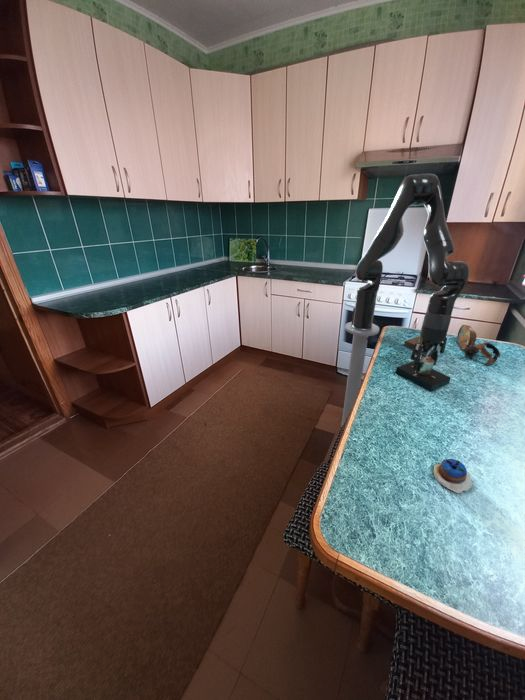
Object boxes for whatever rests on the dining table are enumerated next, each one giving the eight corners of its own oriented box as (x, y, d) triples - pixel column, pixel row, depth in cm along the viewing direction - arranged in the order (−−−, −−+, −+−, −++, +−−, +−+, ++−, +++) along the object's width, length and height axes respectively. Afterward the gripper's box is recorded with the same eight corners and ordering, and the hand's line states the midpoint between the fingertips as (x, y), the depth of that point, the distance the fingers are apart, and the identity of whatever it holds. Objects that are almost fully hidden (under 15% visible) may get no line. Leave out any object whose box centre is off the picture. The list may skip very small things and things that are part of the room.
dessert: (439, 455, 71) (460, 449, 66) (460, 479, 69) (483, 475, 65) (424, 474, 67) (445, 470, 62) (446, 501, 65) (469, 498, 60)
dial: (424, 377, 100) (428, 363, 97) (412, 370, 104) (415, 357, 101) (434, 373, 102) (437, 360, 100) (421, 367, 106) (424, 354, 103)
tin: (455, 338, 133) (460, 321, 129) (463, 339, 132) (469, 322, 128) (463, 353, 120) (470, 334, 117) (472, 354, 119) (479, 335, 116)
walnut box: (403, 345, 128) (405, 340, 126) (418, 341, 132) (420, 335, 131) (428, 356, 118) (430, 351, 117) (444, 351, 122) (445, 345, 121)
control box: (395, 372, 107) (396, 366, 106) (413, 366, 112) (415, 360, 110) (430, 391, 96) (432, 385, 95) (449, 383, 100) (451, 377, 99)
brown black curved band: (478, 353, 121) (495, 341, 114) (488, 372, 115) (507, 361, 109) (453, 348, 118) (470, 336, 112) (463, 367, 113) (480, 355, 106)
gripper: (438, 317, 101) (427, 358, 108) (411, 324, 95) (401, 367, 102) (460, 324, 95) (447, 367, 102) (432, 332, 89) (420, 377, 96)
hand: (424, 367), depth 102 cm, fingers open, 8 cm apart
